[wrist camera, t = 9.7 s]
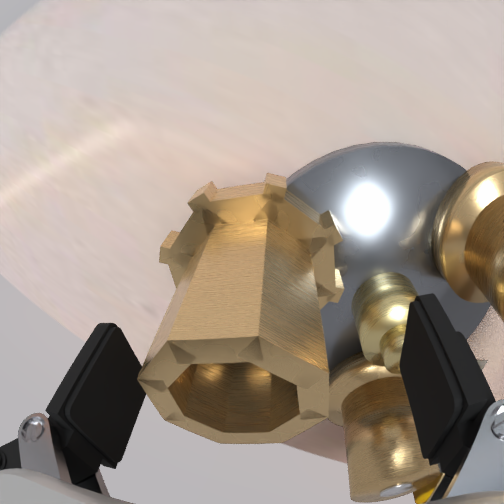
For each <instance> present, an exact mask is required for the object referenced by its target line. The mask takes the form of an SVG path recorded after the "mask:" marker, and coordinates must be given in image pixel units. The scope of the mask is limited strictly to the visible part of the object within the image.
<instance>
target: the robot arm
mask: <svg viewBox="0 0 504 504" xmlns="http://www.w3.org/2000/svg"><path fill="white" fill-rule="evenodd" d="M141 369H142V366H141V364H140V362H139V361H138V359H137V357H136V356H135V354H134V352H133V350H132V348H131V347H130V345H129V343H128V341H127V339H126V338H125V336H124V334H123V332H122V330H121V329H120V328H119V327H117V325H116V324H114V323H100V324H98V325H97V326H96V328H95V329H94V331H93V332H92V334H91V335H90V337H89V338H88V340H87V341H86V343H85V345H84V346H83V348H82V349H81V351H80V353H79V354H78V356H77V357H76V359H75V361H74V363H73V364H72V366H71V367H70V369H69V371H68V372H67V374H66V375H65V377H64V379H63V381H62V382H61V384H60V386H59V387H58V389H57V391H56V393H55V394H54V396H53V398H52V400H51V401H50V403H49V405H48V407H47V408H46V412H47V413H48V414H49V415H50V416H49V418H47V417H46V416H45V415H44V414H42V413H34V414H31V415H30V416H28V417H27V418H26V419H25V420H24V421H23V422H22V423H21V425H20V427H19V431H18V438H17V439H15V440H13V441H12V442H10V443H8V444H5V445H3V446H1V447H0V504H133V503H129V502H126V501H122V500H119V499H115V498H112V497H110V495H109V493H108V490H107V488H106V485H105V483H104V480H103V478H102V475H101V472H100V469H99V467H100V464H102V465H103V466H106V467H110V468H114V469H116V466H117V463H118V462H120V461H121V460H122V458H123V455H124V452H125V449H126V446H127V444H128V441H129V438H130V436H131V433H132V430H133V427H134V425H135V422H136V419H137V417H138V414H139V411H140V409H141V406H142V404H143V401H144V398H145V396H146V392H145V391H144V389H143V388H142V386H141V385H140V383H139V381H138V380H137V378H138V376H139V373H140V371H141ZM400 372H401V376H402V379H403V382H404V386H405V389H406V393H407V396H408V400H409V404H410V408H411V411H412V415H413V419H414V423H415V427H416V431H417V435H418V440H419V444H420V448H421V453H422V456H423V458H424V459H428V460H429V465H430V466H431V465H435V464H438V463H440V466H441V471H442V473H443V475H442V477H441V478H440V480H439V482H438V484H437V485H436V487H435V489H434V491H433V492H432V494H431V495H430V497H429V499H428V500H427V502H426V503H423V504H504V399H503V400H499V401H497V402H496V401H495V398H494V396H493V394H492V392H491V389H490V387H489V385H488V383H487V381H486V378H485V376H484V374H483V372H482V370H481V368H480V366H479V364H478V362H477V360H476V358H475V356H474V354H473V352H472V350H471V348H470V346H469V344H468V342H467V341H466V339H465V337H464V335H463V334H462V333H461V332H459V331H455V329H454V327H453V325H452V323H451V321H450V320H449V318H448V316H447V314H446V313H445V311H444V309H443V307H442V305H441V304H440V302H439V300H438V299H437V297H436V295H435V294H433V293H431V294H425V295H420V296H416V297H415V300H414V301H413V302H410V304H409V310H408V317H407V324H406V330H405V336H404V341H403V347H402V352H401V357H400Z"/></svg>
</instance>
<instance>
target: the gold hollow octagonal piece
mask: <svg viewBox="0 0 504 504" xmlns="http://www.w3.org/2000/svg"><path fill="white" fill-rule="evenodd" d="M188 205H189V206H190V207H191V209H192V210H193V214H192V215H191V217H190V218H189V220H188V221H187V223H186V224H185V226H184V227H183V229H182V230H181V232H176V231H171V232H170V233H169V235H168V236H167V238H166V239H165V241H164V242H163V243H162V245H161V247H160V258H159V262H161V263H165V264H168V265H169V268H170V271H171V274H172V277H173V280H174V283H175V286H176V288H177V289H176V291H175V294H174V296H173V298H172V300H171V302H170V305H169V307H168V309H167V311H166V313H165V316H164V318H163V320H162V322H161V325H160V327H159V329H158V331H157V334H156V336H155V338H154V341H153V343H152V345H151V347H150V350H149V352H148V354H147V357H146V359H145V362H144V364H143V366H142V369H141V371H140V373H139V376H138V378H137V380H138V381H139V383H140V385H141V386H142V388H143V389H144V391H145V392H146V394H147V395H148V397H149V398H150V400H151V402H152V403H153V405H154V406H155V407H156V409H157V410H158V411H159V413H160V415H161V416H162V418H163V419H164V420H165V421H168V422H170V423H172V424H174V425H176V426H179V427H181V428H183V429H185V430H188V431H190V432H193V433H195V434H197V435H200V436H202V437H205V438H207V439H210V440H212V441H215V442H218V443H223V444H264V443H283V442H285V441H287V440H289V439H291V438H292V437H294V436H296V435H298V434H300V433H302V432H304V431H305V430H307V429H309V428H311V427H312V426H314V425H316V424H318V423H319V422H321V421H323V420H324V419H326V418H328V417H329V368H328V361H327V353H326V346H325V339H324V333H323V326H322V319H321V313H320V310H321V309H322V308H323V307H324V306H325V305H326V304H327V303H328V302H329V301H330V302H335V303H338V302H339V300H340V298H341V295H342V293H343V291H344V286H343V282H342V279H341V276H340V272H339V270H337V269H335V260H334V245H335V244H337V243H339V242H341V241H343V239H342V237H341V234H340V232H339V229H338V227H337V224H336V223H335V221H334V219H333V217H332V215H331V213H330V211H329V210H327V211H326V212H324V213H322V214H319V213H318V212H316V211H315V210H314V209H312V208H311V207H310V206H308V205H307V204H306V203H304V202H303V201H302V200H300V199H299V198H298V197H296V196H295V195H294V194H292V193H291V192H289V191H288V190H287V185H286V177H282V176H278V175H274V174H270V173H267V174H266V178H265V182H263V183H256V184H249V185H242V186H235V187H229V188H222V189H217V188H216V187H215V185H214V184H213V182H212V181H211V182H210V183H208V184H207V185H205V186H203V187H202V188H200V189H199V190H197V191H196V192H195V194H194V195H193V196H192V198H191V199H190V200H189V202H188Z"/></svg>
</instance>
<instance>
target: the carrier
mask: <svg viewBox="0 0 504 504" xmlns="http://www.w3.org/2000/svg"><path fill="white" fill-rule="evenodd" d="M286 185H287V190H288V191H289V192H291V193H292V194H294V195H295V196H296V197H298V198H299V199H300V200H302V201H303V202H304V203H306V204H307V205H308V206H310V207H311V208H312V209H314V210H315V211H316V212H318V213H319V214H322V213H324V212H326V211H327V210H329V211H330V213H331V215H332V217H333V219H334V221H335V223H336V224H337V227H338V229H339V232H340V234H341V237H342V239H343V241H341V242H339V243H337V244H335V245H334V260H335V269H337V270H339V272H340V276H341V279H342V282H343V286H344V291H343V293H342V295H341V298H340V300H339V302H338V303H335V302H330V301H329V302H328V303H327V304H326V305H325V306H324V307H323V308H322V309H321V310H320V313H321V319H322V326H323V333H324V339H325V346H326V353H327V361H328V368H329V417H328V419H329V420H330V421H331V422H333V423H334V424H336V425H339V426H342V427H344V435H345V444H346V453H347V463H348V473H349V485H350V497H351V500H353V501H355V502H378V501H384V500H389V499H393V498H396V497H400V496H403V495H406V494H409V493H411V492H414V491H416V490H418V489H421V488H423V487H424V486H426V485H428V484H430V483H431V482H433V481H434V480H435V479H436V478H437V477H438V476H439V474H440V470H439V466H438V464H435V465H431V466H430V465H429V460H428V459H424V458H423V456H422V453H421V448H420V444H419V440H418V435H417V431H416V427H415V423H414V419H413V415H412V411H411V408H410V404H409V400H408V396H407V393H406V389H405V386H404V382H403V379H402V376H401V372H400V357H401V352H402V347H403V341H404V336H405V330H406V324H407V317H408V310H409V304H410V302H413V301H414V300H415V297H416V296H420V295H425V294H431V293H433V294H435V295H436V297H437V299H438V300H439V302H440V304H441V305H442V307H443V309H444V311H445V313H446V314H447V316H448V318H449V320H450V321H451V323H452V325H453V327H454V329H455V331H459V332H461V333H462V334H463V335H464V337H465V339H466V340H467V339H468V337H469V336H470V335H471V334H472V333H473V332H474V330H475V329H476V328H477V326H478V325H479V323H480V322H481V321H482V319H483V317H484V316H485V314H486V312H487V310H488V309H489V307H490V305H492V307H493V308H494V309H495V311H496V312H497V314H498V315H499V316H500V318H501V319H502V321H503V322H504V163H500V162H485V163H481V164H478V165H476V166H474V167H472V168H470V169H469V170H467V171H466V170H465V169H464V168H463V167H461V166H460V165H458V164H456V163H455V162H453V161H451V160H449V159H448V158H446V157H444V156H442V155H440V154H438V153H435V152H433V151H430V150H428V149H425V148H422V147H419V146H416V145H410V144H404V143H397V142H373V143H367V144H360V145H354V146H350V147H347V148H344V149H340V150H337V151H334V152H331V153H329V154H327V155H325V156H323V157H321V158H318V159H316V160H314V161H312V162H310V163H309V164H307V165H306V166H304V167H303V168H301V169H300V170H298V171H297V172H295V173H294V174H292V175H291V176H290V177H289V178H288V179H286Z"/></svg>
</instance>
